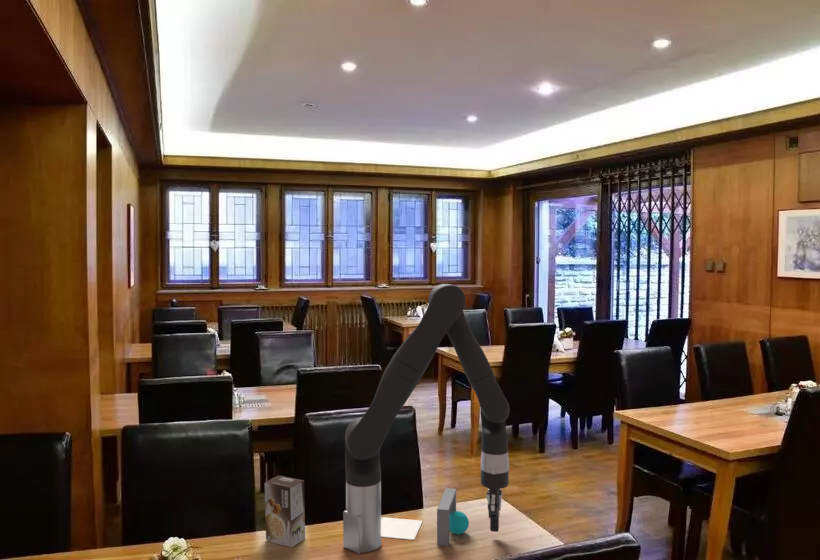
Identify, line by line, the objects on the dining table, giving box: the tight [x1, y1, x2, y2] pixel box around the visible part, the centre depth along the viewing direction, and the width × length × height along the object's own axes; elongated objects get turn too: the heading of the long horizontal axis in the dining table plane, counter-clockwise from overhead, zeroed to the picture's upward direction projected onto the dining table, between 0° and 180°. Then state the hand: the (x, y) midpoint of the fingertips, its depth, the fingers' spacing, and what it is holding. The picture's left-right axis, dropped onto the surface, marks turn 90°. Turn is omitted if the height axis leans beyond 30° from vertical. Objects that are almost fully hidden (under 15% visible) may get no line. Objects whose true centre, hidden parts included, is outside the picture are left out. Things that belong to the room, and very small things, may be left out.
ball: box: [449, 510, 470, 535], centre depth 171 cm, size 6×6×6 cm
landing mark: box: [381, 516, 423, 541], centre depth 174 cm, size 12×12×1 cm
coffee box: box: [264, 475, 306, 548], centre depth 167 cm, size 9×6×16 cm
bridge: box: [436, 487, 457, 547], centre depth 171 cm, size 3×15×10 cm, turn 168°
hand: (494, 530), depth 168 cm, fingers closed
